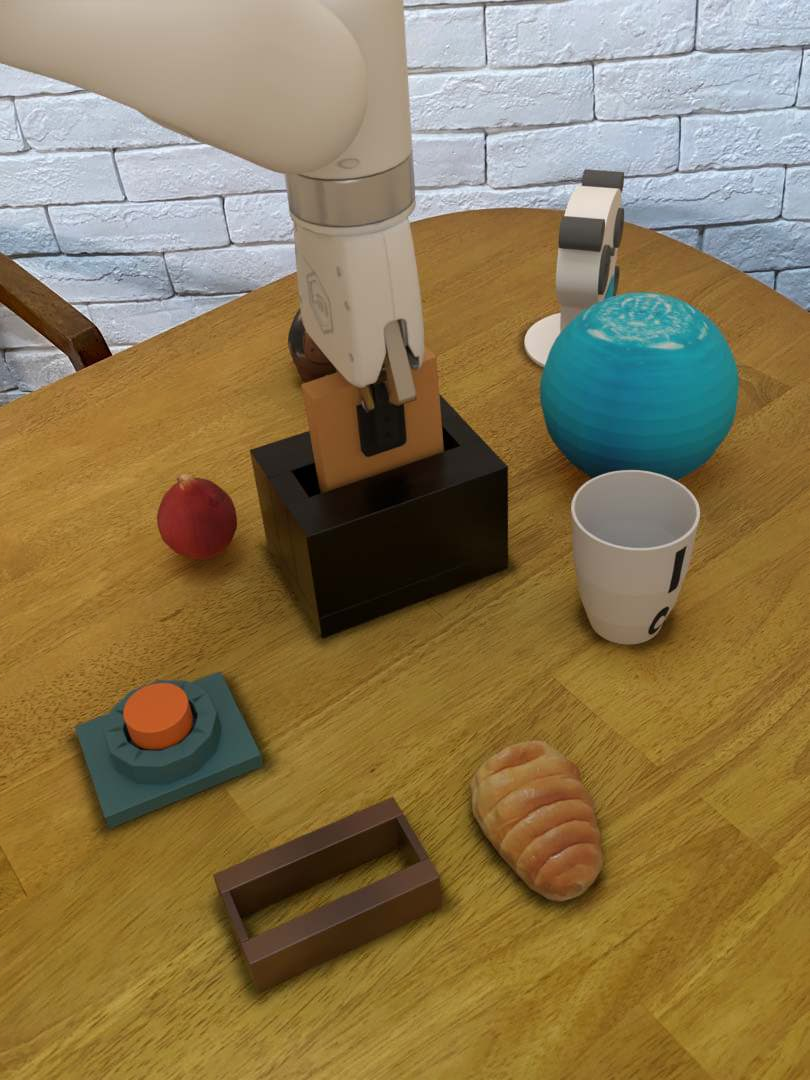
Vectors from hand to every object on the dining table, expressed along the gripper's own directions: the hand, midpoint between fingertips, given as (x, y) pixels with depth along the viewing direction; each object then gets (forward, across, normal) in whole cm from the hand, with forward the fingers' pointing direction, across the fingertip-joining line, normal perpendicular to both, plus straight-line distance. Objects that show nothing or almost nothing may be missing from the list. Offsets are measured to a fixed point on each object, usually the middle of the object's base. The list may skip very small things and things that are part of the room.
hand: (375, 437), depth 78 cm
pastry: (+11, +26, -2) cm, 29 cm away
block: (+11, +10, -20) cm, 25 cm away
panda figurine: (+12, -18, +29) cm, 36 cm away
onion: (+11, -7, -12) cm, 18 cm away
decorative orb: (+12, 0, +22) cm, 25 cm away
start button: (+8, +10, -20) cm, 24 cm away
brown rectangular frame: (+11, +25, -15) cm, 31 cm away
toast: (+5, 0, 0) cm, 5 cm away
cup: (+11, +14, +12) cm, 22 cm away
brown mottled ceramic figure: (+11, -26, +8) cm, 29 cm away
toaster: (+11, 0, 0) cm, 11 cm away
